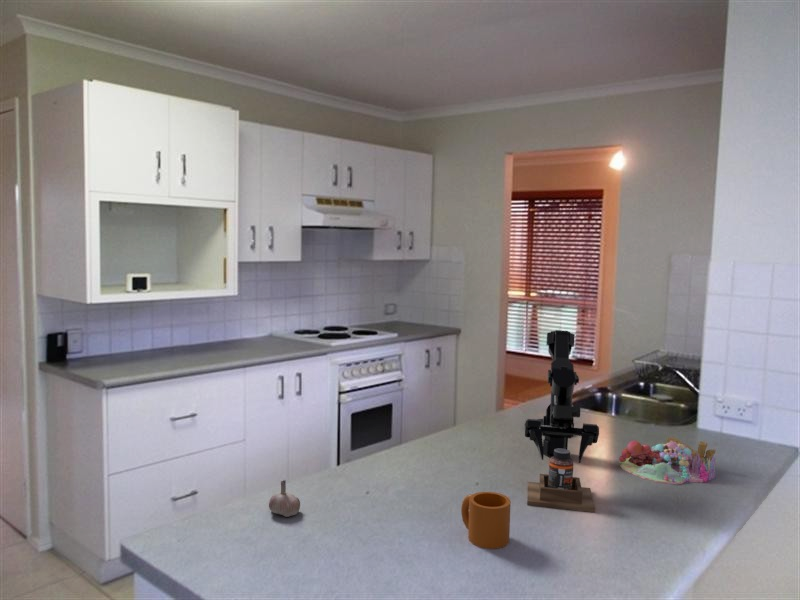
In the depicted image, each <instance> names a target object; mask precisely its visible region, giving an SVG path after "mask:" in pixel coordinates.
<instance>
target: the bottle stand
mask: <svg viewBox="0 0 800 600" xmlns="http://www.w3.org/2000/svg"><path fill="white" fill-rule="evenodd" d="M548 477H549V474H545V473H544V474H543V473H539V482H535V481H527V487H526V489H527V490H526V491H527V493H526V494H527V497H526V499H527V500H526V502H527V503H526V505H527V506H534V507H543V508H544V507H545V508H553V509H561V510H572V511H578V512H579V511H582V512H590V513H595V512H596V506H595V502H594V498H593V494H592V488H591V487H586V486H582V484H581V479H580V477H576V476H573V480H572V490H568V489H558V488H548Z"/></svg>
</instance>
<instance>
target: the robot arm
mask: <svg viewBox="0 0 800 600" xmlns="http://www.w3.org/2000/svg"><path fill="white" fill-rule="evenodd" d="M575 338H576V337H575V333H571V331H568V330H562V329H561V330H560V329H559V330H558V329H555V330H553V331H552V330H550V332H547V334H546V343H545V344H546V346H548V349H547V350H548V354H549V356H550V357H551V359H552V362H551V363H550V369H548V370H547V371H548V372H547V383H548V384H549V386H550V387H551V390H550V403H549V404H548V406H547V407H546V411H545V415H543V418H542V419H543V425H541V420H536V419H535V418H534V419H533V418H527V419H526V420H525V422H524V437H526V438H529V440H530V441H533V443H534V444H535V446H536V448H537V450H538V453H539V456H540V458H541V460H542V461H544V456H547V457H548V458H549V459H550V458H551V457H553V456H554V449H557V448H562V449H567V450H568V446H569V445H568V444H569V443H568V442H569V439H572V438H573V437H574V436H579V437H580V439H581V440H580V443H579V451H578V458H577V459H578V464H581V462H582V459H583V457H584V453H585V452H586V450H587V449H588V446H592V445H593V444H597V443H598V439H599V435H600V427H599V426H598V425H597V424H593V423H584V422H583V424H582V427H575V423H574V421H575V420H574V418H580V417H581V404H577V403H575V404H573V394H574V390H575V386H576V385H577V384H580V383H579V382H580V377H579V375H578V374H577V372H576V371H575V369H574V367H575V366H574V363H573V362H571V361H570V355H571V352H572V349H573V348H574V347H575ZM542 433H543V435H542ZM543 437H544V438H543Z"/></svg>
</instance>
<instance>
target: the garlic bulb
mask: <svg viewBox="0 0 800 600" xmlns="http://www.w3.org/2000/svg"><path fill="white" fill-rule="evenodd" d="M286 481H287V480H286V479H282V480H280V492H279V493H276V494H274V495H272V496H271V497H270V499H269V501H268V508H269V510H270V512H272V513H274V514H276V515H280V516H283V517H286V518H288V517H292V516H295V515H297V514H298V513H299V511H300V508H301V501H300V499H299V497H297V496H295V495H294V494H292V493H289V492H287V491H286V490H287V488H286V487H287V486H286V483H287V482H286Z"/></svg>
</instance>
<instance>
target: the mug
mask: <svg viewBox="0 0 800 600" xmlns="http://www.w3.org/2000/svg"><path fill="white" fill-rule="evenodd" d="M462 500H463V501H462V504H461V513H460V514H461V518H462V521H463V525H464V526H465V528H466V529H467V530H468V533H467V535H468V536H467V538H468V540H469V542H470V543H471V544H472V545H474V546H476V547H479V548H481V549H487V550H494V549H495V550H496V549H498V550H499V549H501V548H502V549H503V548H505V547H506V546H507V545H509V543H510V530H511V529H510V528H511V525H510V524H511V503H512V502H511V499H510V498H509V497H508V496H507V495H505V494H502V493H501V492H500V493H499V492H495V491H479V492H478V491H477V492H475V493H472V494H467V495H466V496H465V497H464V498H463V499H462Z"/></svg>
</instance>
